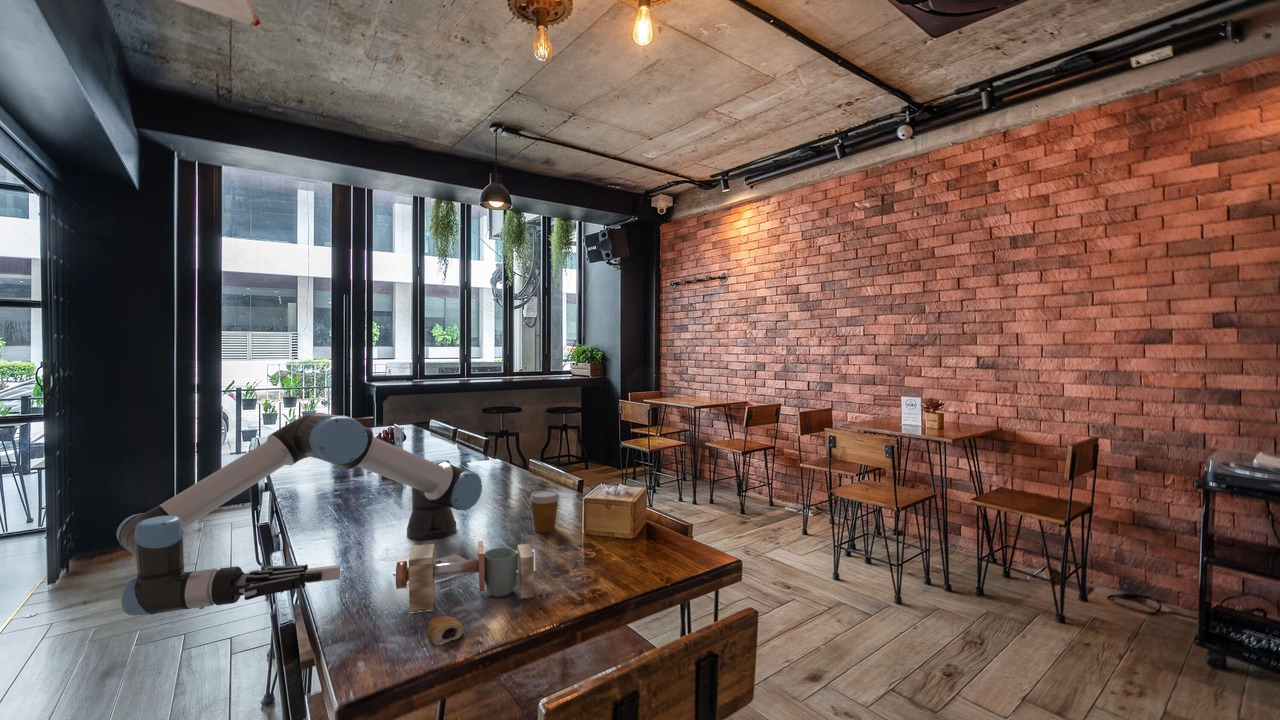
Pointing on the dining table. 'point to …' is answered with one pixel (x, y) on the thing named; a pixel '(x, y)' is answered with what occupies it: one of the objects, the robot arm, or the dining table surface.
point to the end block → (525, 571)
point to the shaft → (447, 569)
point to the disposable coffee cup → (544, 510)
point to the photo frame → (447, 560)
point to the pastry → (444, 629)
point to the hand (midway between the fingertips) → (339, 571)
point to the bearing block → (421, 578)
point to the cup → (500, 571)
